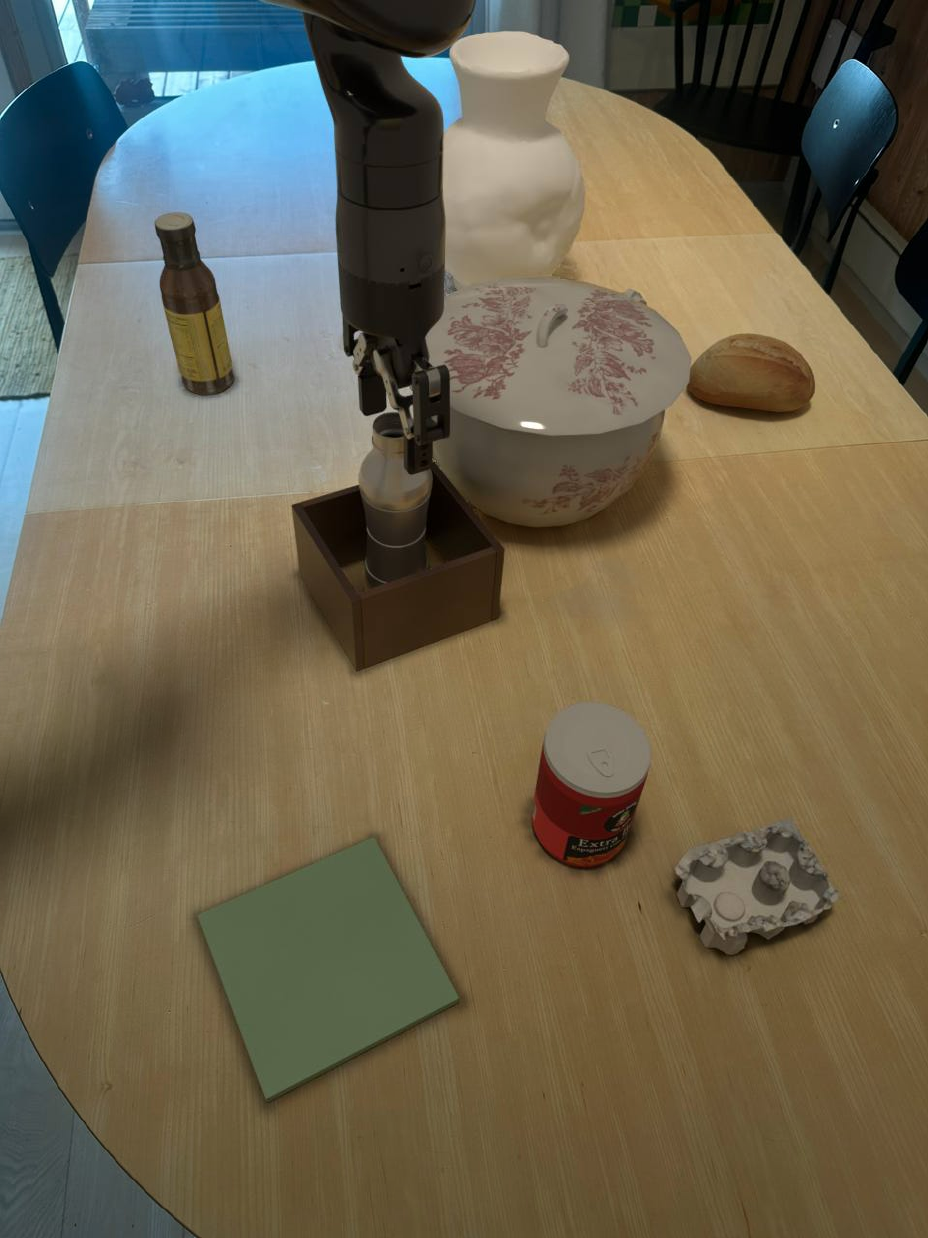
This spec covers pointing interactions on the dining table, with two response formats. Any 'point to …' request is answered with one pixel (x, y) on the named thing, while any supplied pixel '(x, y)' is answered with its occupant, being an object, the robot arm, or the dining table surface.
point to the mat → (324, 966)
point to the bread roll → (752, 374)
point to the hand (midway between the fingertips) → (395, 440)
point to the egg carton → (753, 885)
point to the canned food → (589, 782)
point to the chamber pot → (552, 395)
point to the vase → (508, 162)
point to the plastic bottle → (393, 507)
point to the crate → (408, 604)
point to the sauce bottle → (192, 308)
